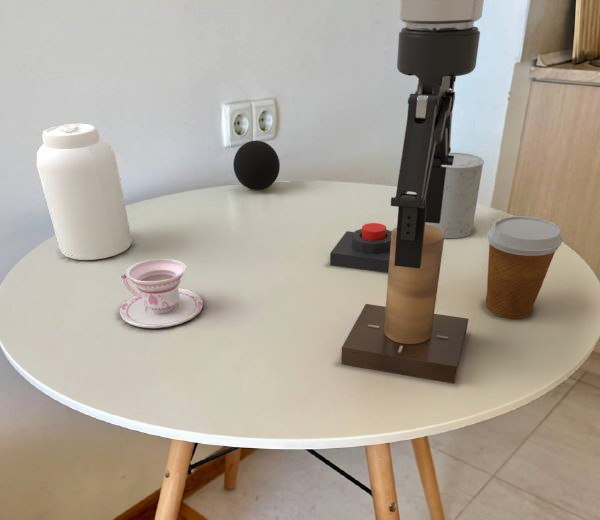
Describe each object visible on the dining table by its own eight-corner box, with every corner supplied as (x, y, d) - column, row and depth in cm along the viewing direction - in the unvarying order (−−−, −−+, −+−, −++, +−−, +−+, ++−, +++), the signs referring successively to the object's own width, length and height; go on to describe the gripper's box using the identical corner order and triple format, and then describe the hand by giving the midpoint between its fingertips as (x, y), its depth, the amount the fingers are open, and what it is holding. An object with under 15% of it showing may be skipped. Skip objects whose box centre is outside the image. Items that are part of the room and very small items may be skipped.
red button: (388, 234, 99) (388, 224, 98) (382, 243, 96) (383, 232, 95) (364, 231, 100) (365, 221, 99) (358, 240, 97) (359, 230, 96)
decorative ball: (289, 188, 131) (288, 140, 125) (255, 199, 125) (252, 150, 119) (260, 179, 137) (257, 133, 131) (226, 189, 131) (221, 141, 125)
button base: (413, 250, 102) (415, 228, 100) (401, 274, 95) (403, 250, 92) (346, 242, 106) (346, 221, 103) (329, 265, 98) (330, 242, 96)
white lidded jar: (55, 242, 108) (22, 124, 96) (123, 230, 112) (100, 115, 100) (67, 267, 99) (32, 141, 87) (140, 252, 103) (117, 130, 91)
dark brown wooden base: (466, 334, 79) (469, 317, 78) (454, 383, 70) (457, 365, 69) (364, 319, 83) (365, 302, 82) (341, 364, 74) (341, 346, 73)
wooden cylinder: (389, 317, 78) (397, 218, 70) (435, 324, 77) (448, 224, 69) (378, 339, 74) (386, 237, 66) (426, 347, 72) (440, 243, 64)
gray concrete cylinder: (441, 215, 116) (449, 149, 108) (483, 228, 110) (495, 159, 102) (409, 228, 110) (416, 160, 103) (452, 242, 105) (462, 171, 97)
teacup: (207, 289, 92) (202, 251, 88) (198, 328, 82) (192, 288, 78) (129, 291, 91) (122, 253, 88) (111, 331, 82) (102, 290, 78)
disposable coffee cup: (469, 318, 83) (484, 235, 76) (479, 289, 90) (493, 211, 83) (541, 329, 80) (563, 245, 73) (545, 299, 87) (566, 219, 80)
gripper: (464, 40, 45) (434, 293, 58) (492, 13, 64) (465, 208, 76) (368, 40, 47) (359, 284, 60) (422, 13, 66) (407, 204, 79)
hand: (418, 242), depth 68 cm, fingers open, 13 cm apart
